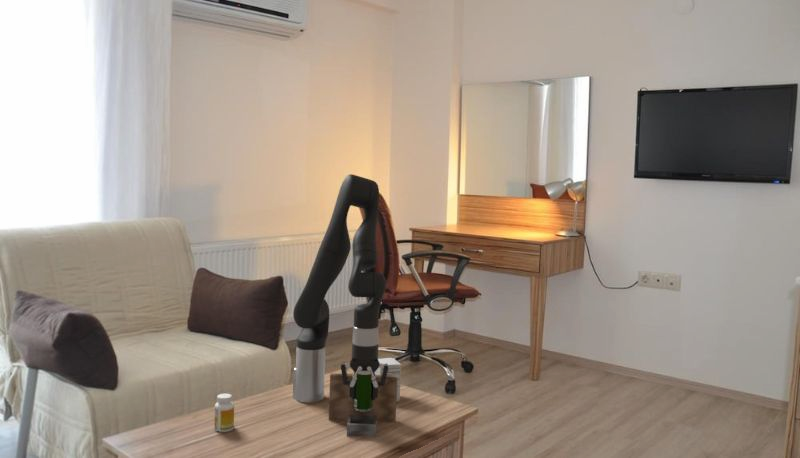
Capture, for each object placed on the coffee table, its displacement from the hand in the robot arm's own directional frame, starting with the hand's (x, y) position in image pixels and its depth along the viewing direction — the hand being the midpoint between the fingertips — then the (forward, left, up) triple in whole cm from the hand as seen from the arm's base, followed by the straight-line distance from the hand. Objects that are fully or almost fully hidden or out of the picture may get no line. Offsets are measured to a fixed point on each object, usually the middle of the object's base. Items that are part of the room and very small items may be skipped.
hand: (363, 398), depth 198 cm
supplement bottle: (-31, -24, -10) cm, 41 cm away
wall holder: (-1, +2, -10) cm, 10 cm away
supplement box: (-10, +26, -10) cm, 29 cm away
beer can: (0, 0, -3) cm, 3 cm away
